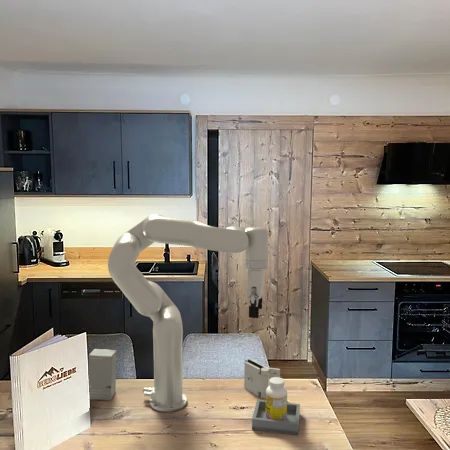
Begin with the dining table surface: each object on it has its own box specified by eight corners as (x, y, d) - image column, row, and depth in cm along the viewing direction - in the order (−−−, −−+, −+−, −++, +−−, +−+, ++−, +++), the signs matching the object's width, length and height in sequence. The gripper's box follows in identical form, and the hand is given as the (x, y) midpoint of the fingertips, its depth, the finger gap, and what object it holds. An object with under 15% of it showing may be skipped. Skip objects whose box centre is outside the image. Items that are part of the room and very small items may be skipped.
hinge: (280, 396, 160) (280, 369, 158) (271, 402, 156) (272, 374, 154) (248, 384, 168) (248, 358, 167) (239, 389, 164) (239, 363, 163)
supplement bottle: (264, 413, 147) (265, 375, 145) (285, 413, 147) (286, 375, 145) (266, 424, 140) (267, 385, 138) (287, 425, 140) (288, 385, 138)
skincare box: (87, 400, 156) (86, 356, 154) (94, 390, 163) (92, 347, 161) (112, 400, 156) (111, 356, 154) (117, 390, 163) (116, 348, 161)
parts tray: (251, 429, 139) (252, 418, 139) (256, 409, 151) (257, 399, 150) (298, 435, 136) (298, 424, 136) (299, 414, 148) (300, 404, 148)
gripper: (249, 258, 162) (248, 304, 164) (241, 268, 145) (240, 320, 147) (270, 259, 161) (269, 306, 163) (264, 270, 144) (263, 322, 146)
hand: (255, 313), depth 155 cm, fingers open, 9 cm apart
